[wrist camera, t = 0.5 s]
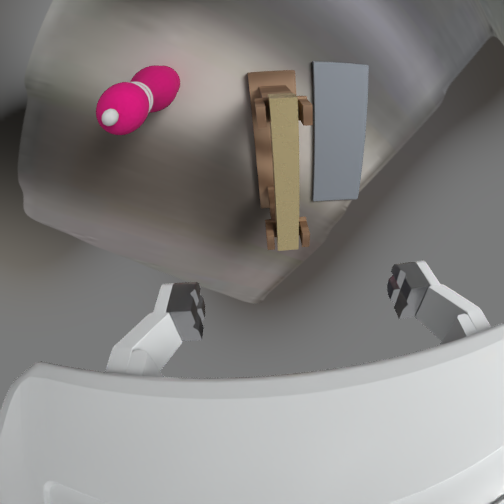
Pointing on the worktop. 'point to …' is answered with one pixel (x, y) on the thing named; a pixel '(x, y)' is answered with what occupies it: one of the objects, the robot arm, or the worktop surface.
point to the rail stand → (261, 125)
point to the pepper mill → (136, 99)
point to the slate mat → (338, 128)
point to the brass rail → (285, 167)
